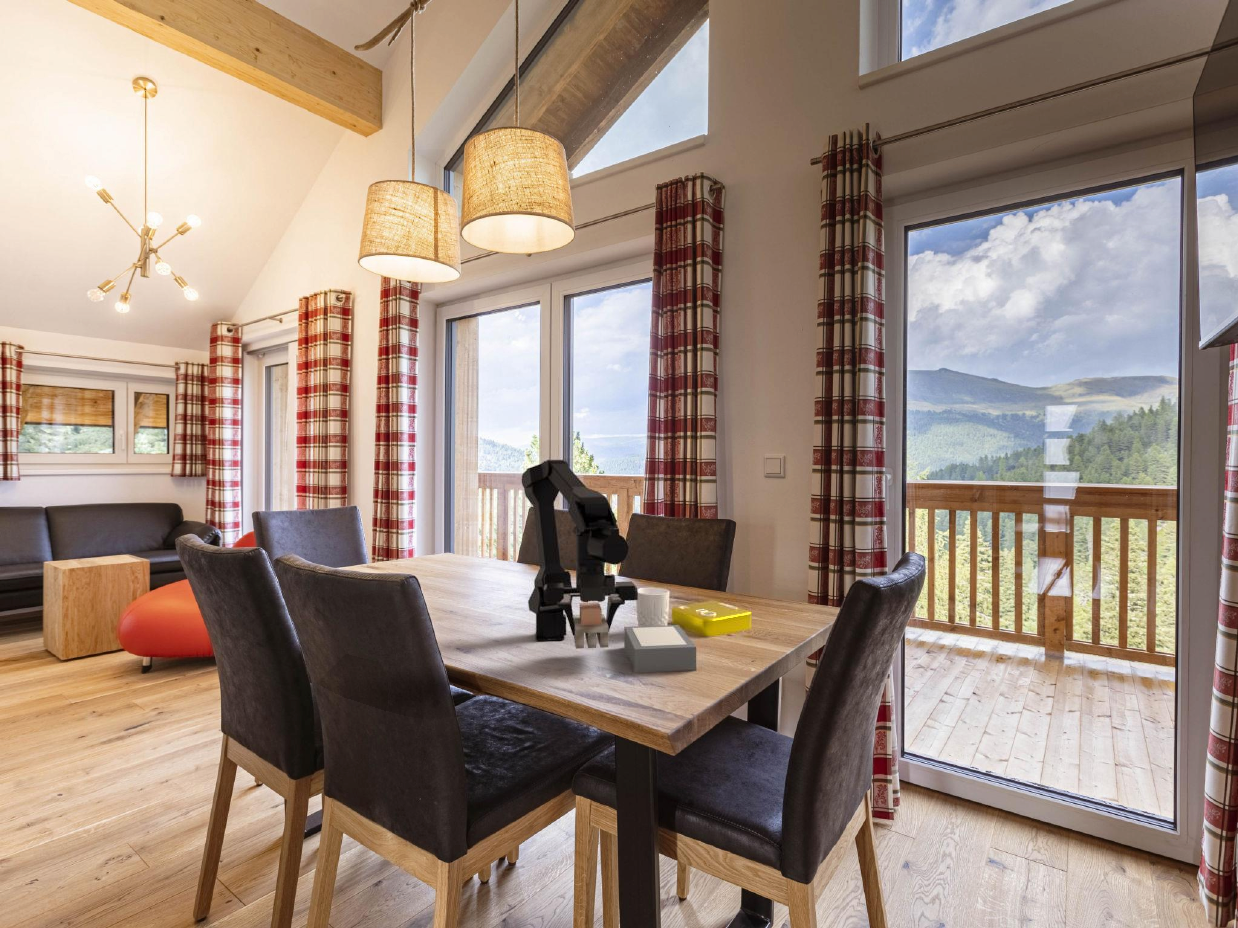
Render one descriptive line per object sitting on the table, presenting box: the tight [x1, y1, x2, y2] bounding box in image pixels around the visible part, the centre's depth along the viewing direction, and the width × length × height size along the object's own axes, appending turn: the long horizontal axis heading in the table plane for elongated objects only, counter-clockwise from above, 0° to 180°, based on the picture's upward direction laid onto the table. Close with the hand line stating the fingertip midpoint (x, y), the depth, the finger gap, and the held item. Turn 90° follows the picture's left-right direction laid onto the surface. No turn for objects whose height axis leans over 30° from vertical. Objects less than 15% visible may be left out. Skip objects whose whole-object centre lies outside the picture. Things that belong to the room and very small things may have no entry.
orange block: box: [579, 601, 603, 625], centre depth 126 cm, size 4×6×3 cm, turn 7°
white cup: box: [635, 587, 670, 626], centre depth 146 cm, size 8×8×10 cm
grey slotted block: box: [573, 613, 610, 650], centre depth 126 cm, size 6×10×4 cm, turn 7°
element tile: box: [671, 600, 752, 638], centre depth 152 cm, size 15×15×5 cm
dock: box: [623, 624, 697, 674], centre depth 128 cm, size 12×16×5 cm
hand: (590, 634), depth 126 cm, fingers closed on grey slotted block, 6 cm apart
